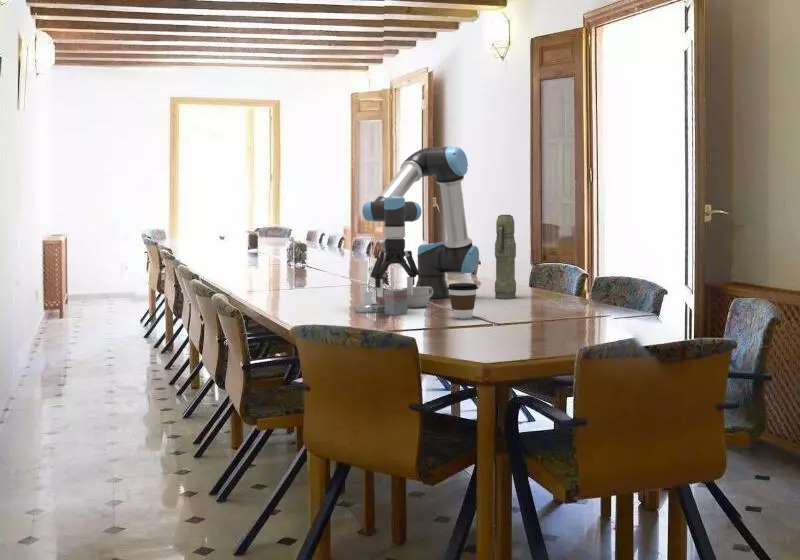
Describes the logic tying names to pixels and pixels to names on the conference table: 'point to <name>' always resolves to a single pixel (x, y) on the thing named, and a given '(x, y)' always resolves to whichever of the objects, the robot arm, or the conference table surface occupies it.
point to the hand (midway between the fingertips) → (395, 295)
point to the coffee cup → (462, 299)
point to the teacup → (419, 297)
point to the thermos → (505, 258)
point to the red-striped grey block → (395, 302)
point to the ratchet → (369, 305)
